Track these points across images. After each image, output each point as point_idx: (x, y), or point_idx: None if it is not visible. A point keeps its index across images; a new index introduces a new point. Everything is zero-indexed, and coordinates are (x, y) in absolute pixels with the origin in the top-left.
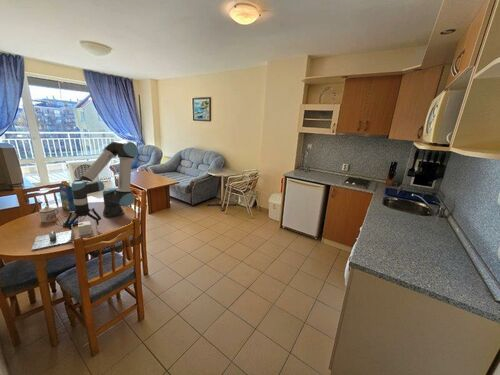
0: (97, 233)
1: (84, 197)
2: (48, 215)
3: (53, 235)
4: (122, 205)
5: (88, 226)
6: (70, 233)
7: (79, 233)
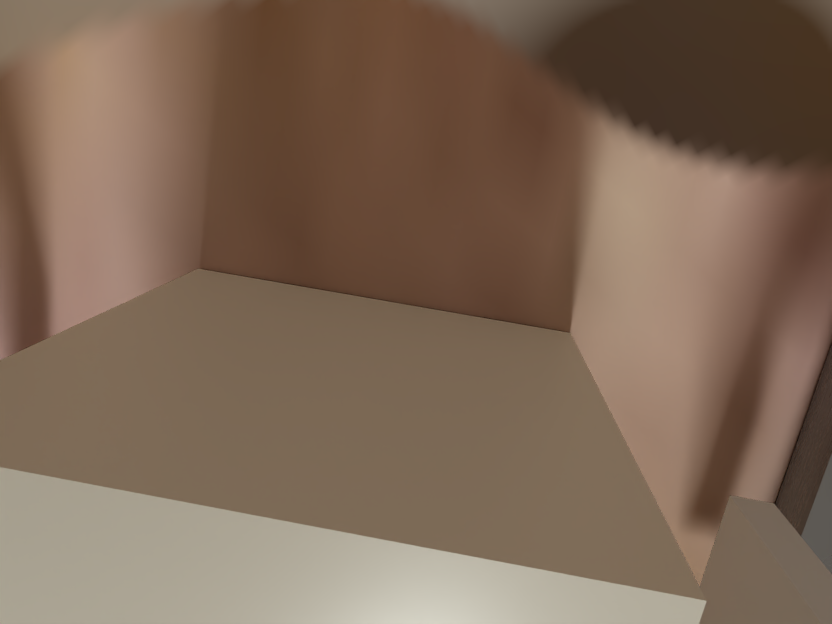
0: (38, 118)
1: None
2: None
3: None
4: None
5: (93, 402)
6: None
7: (575, 364)
